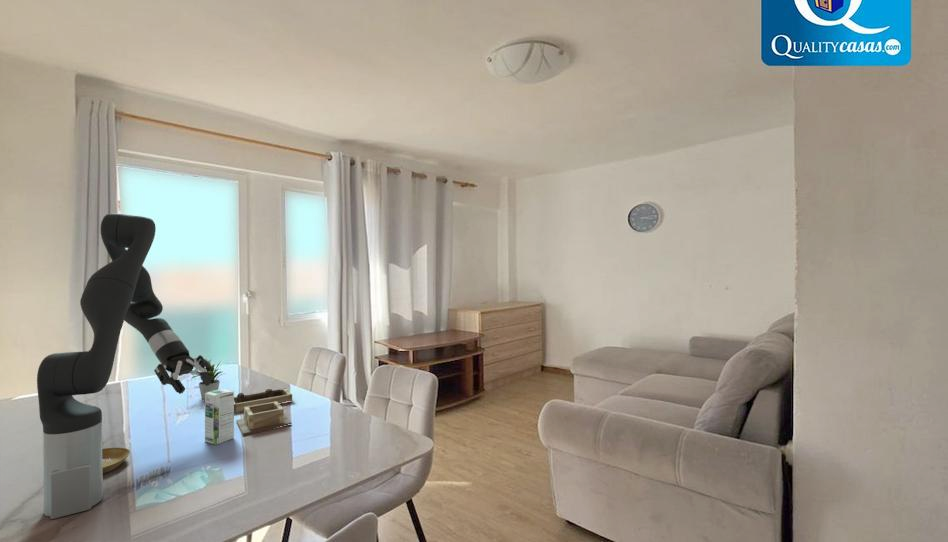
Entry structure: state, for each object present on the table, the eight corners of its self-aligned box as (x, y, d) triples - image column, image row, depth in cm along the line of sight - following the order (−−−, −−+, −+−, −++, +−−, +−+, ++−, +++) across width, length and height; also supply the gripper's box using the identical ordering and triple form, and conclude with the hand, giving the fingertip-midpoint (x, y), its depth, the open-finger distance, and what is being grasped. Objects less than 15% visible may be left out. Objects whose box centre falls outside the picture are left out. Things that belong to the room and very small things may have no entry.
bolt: (280, 383, 163) (237, 390, 153) (284, 392, 160) (240, 400, 150) (278, 394, 166) (236, 402, 156) (282, 403, 162) (238, 412, 152)
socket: (291, 425, 136) (291, 409, 136) (242, 436, 127) (242, 418, 127) (281, 413, 147) (281, 398, 147) (236, 422, 139) (236, 406, 139)
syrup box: (203, 441, 123) (203, 393, 123) (223, 434, 129) (223, 387, 128) (215, 445, 121) (214, 395, 121) (235, 438, 126) (234, 390, 126)
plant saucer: (133, 469, 107) (133, 459, 107) (51, 491, 97) (51, 480, 97) (127, 451, 118) (127, 442, 117) (53, 469, 107) (53, 459, 107)
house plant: (175, 401, 161) (174, 359, 161) (207, 391, 174) (207, 352, 174) (203, 405, 157) (203, 361, 157) (234, 394, 170) (234, 354, 170)
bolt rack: (292, 402, 159) (292, 394, 159) (232, 413, 147) (232, 405, 147) (285, 395, 168) (285, 388, 168) (228, 405, 156) (228, 397, 156)
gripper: (150, 343, 122) (179, 386, 118) (196, 336, 135) (223, 374, 132) (138, 360, 123) (166, 403, 120) (184, 351, 137) (211, 389, 134)
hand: (196, 387), depth 126 cm, fingers open, 8 cm apart
